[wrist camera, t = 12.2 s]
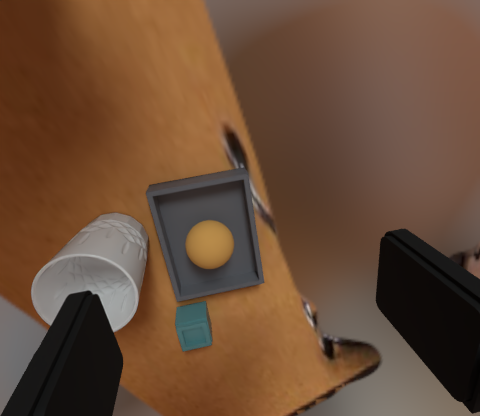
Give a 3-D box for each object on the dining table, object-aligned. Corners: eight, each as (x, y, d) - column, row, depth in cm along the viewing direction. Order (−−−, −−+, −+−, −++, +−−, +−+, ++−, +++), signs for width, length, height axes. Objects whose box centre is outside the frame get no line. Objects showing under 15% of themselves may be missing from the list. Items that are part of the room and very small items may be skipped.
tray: (149, 185, 31) (145, 192, 29) (244, 167, 32) (248, 173, 30) (178, 287, 36) (177, 301, 34) (259, 270, 37) (264, 283, 34)
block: (176, 307, 37) (174, 328, 34) (205, 301, 37) (206, 321, 34) (183, 329, 38) (182, 352, 35) (211, 323, 39) (212, 345, 35)
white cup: (154, 272, 35) (138, 337, 26) (81, 271, 34) (37, 338, 24) (154, 209, 32) (138, 255, 23) (75, 204, 31) (24, 252, 22)
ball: (181, 217, 32) (178, 239, 28) (227, 208, 33) (232, 228, 28) (191, 257, 34) (190, 283, 30) (234, 248, 35) (240, 273, 30)
